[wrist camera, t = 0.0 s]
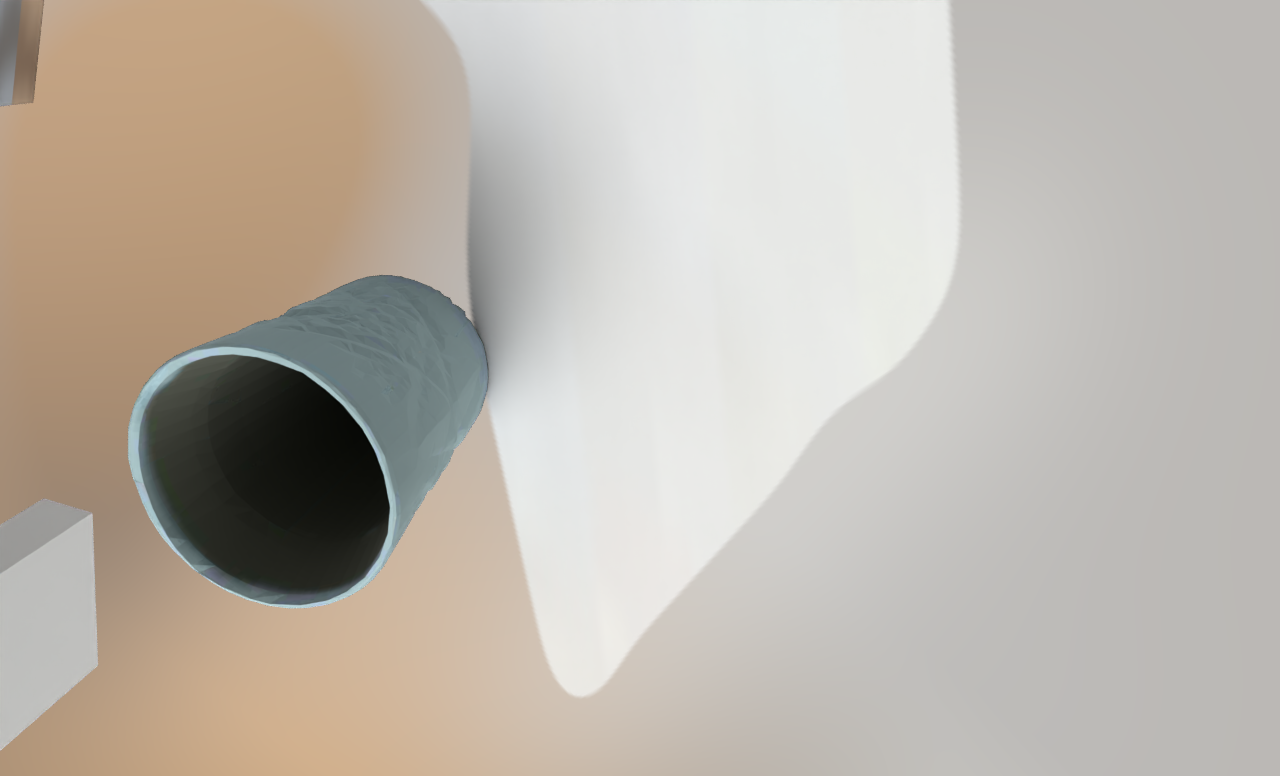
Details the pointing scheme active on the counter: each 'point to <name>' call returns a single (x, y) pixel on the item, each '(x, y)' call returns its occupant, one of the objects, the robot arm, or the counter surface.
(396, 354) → the grey-green tapered cup
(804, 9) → the counter surface
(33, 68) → the sliding track
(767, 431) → the counter surface
